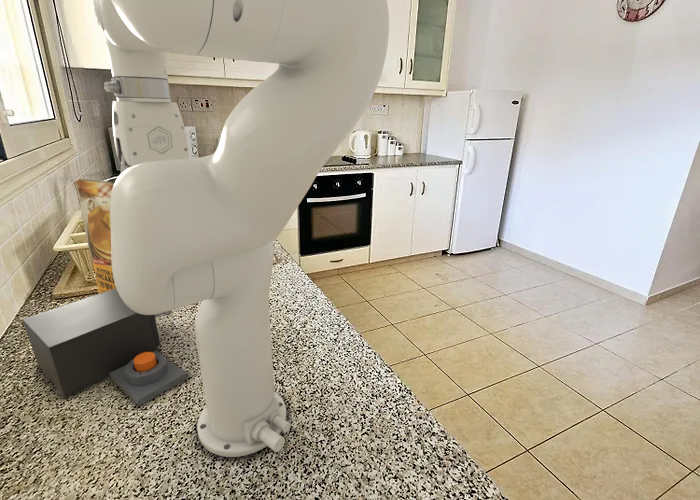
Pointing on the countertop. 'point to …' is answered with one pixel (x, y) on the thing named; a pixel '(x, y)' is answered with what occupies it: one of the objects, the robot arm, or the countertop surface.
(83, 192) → the pancake mix bag
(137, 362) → the button
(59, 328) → the matte grey oblong box
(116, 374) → the control pad
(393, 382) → the countertop surface
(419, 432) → the countertop surface
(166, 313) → the drawer
